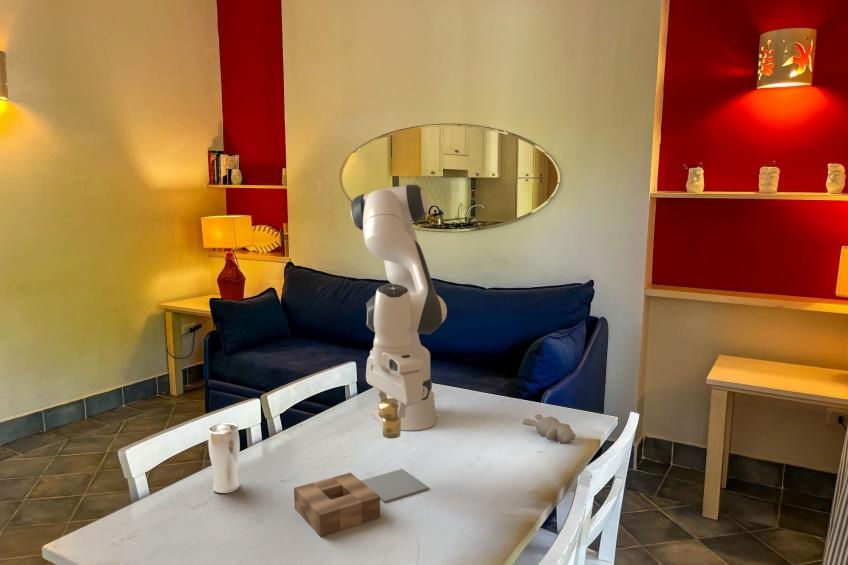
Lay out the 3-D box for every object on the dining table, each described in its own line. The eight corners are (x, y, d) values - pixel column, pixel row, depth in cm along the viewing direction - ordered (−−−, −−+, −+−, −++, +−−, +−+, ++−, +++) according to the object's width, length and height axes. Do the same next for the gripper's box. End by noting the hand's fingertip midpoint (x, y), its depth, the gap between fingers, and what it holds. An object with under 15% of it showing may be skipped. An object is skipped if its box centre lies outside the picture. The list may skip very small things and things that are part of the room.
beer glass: (247, 484, 151) (244, 424, 149) (229, 497, 144) (226, 435, 142) (223, 479, 153) (220, 421, 151) (204, 492, 146) (201, 431, 144)
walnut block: (294, 508, 139) (293, 487, 138) (351, 491, 147) (350, 472, 146) (320, 536, 128) (319, 514, 127) (380, 517, 135) (380, 496, 134)
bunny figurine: (561, 434, 171) (520, 414, 182) (559, 451, 172) (518, 430, 184) (582, 426, 177) (541, 407, 188) (579, 443, 178) (539, 422, 189)
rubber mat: (360, 482, 151) (360, 480, 151) (402, 470, 158) (402, 468, 158) (384, 502, 141) (384, 500, 141) (428, 489, 148) (428, 487, 148)
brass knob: (374, 433, 149) (374, 401, 147) (396, 428, 152) (396, 396, 151) (386, 442, 144) (387, 408, 142) (409, 436, 147) (409, 404, 146)
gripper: (359, 347, 152) (359, 401, 154) (403, 368, 135) (403, 429, 137) (382, 343, 155) (381, 397, 157) (427, 364, 138) (426, 423, 140)
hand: (392, 412), depth 147 cm, fingers closed on brass knob, 6 cm apart
